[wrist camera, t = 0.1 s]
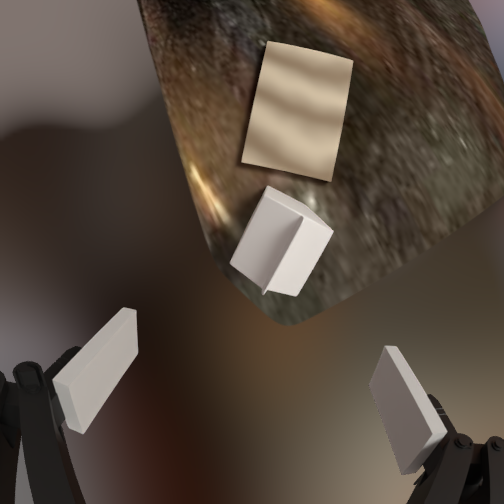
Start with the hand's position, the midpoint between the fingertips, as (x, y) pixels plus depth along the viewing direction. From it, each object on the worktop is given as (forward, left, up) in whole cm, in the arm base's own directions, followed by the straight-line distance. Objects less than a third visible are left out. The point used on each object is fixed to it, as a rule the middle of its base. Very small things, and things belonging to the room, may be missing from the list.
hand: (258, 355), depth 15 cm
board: (-18, +1, -28) cm, 34 cm away
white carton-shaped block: (-3, +1, -28) cm, 29 cm away
